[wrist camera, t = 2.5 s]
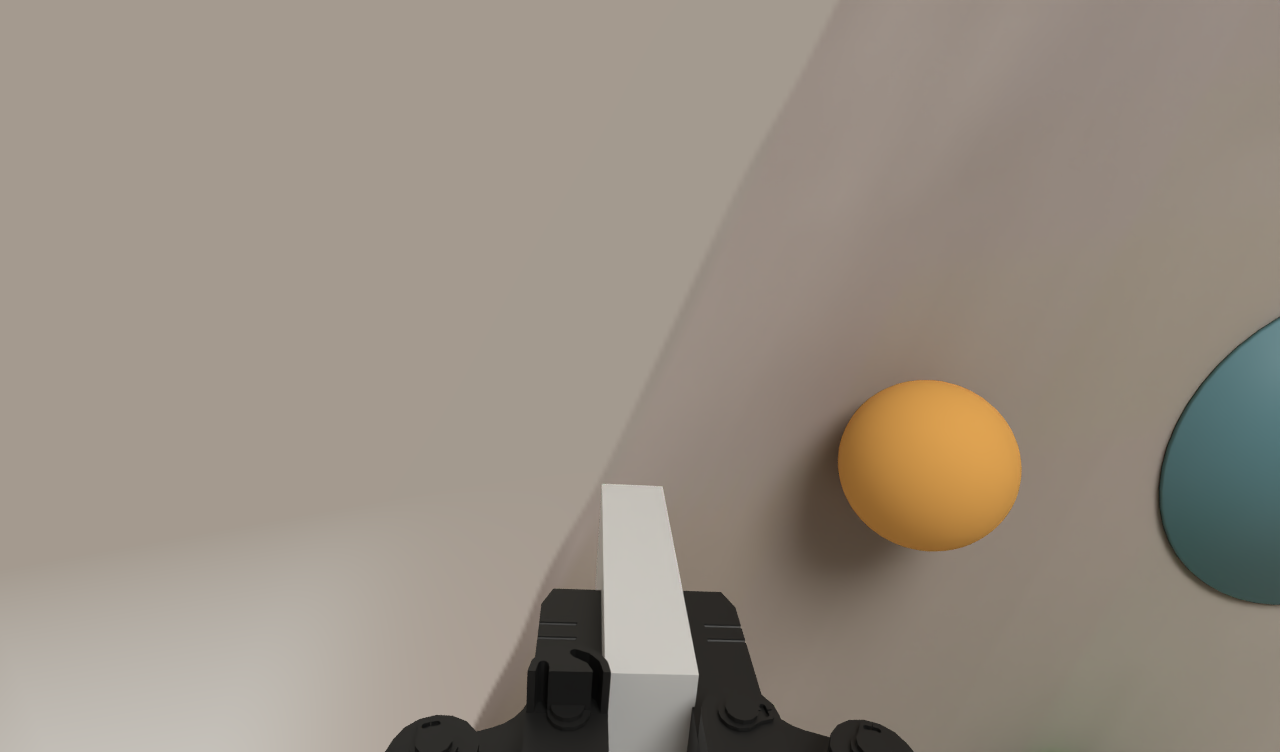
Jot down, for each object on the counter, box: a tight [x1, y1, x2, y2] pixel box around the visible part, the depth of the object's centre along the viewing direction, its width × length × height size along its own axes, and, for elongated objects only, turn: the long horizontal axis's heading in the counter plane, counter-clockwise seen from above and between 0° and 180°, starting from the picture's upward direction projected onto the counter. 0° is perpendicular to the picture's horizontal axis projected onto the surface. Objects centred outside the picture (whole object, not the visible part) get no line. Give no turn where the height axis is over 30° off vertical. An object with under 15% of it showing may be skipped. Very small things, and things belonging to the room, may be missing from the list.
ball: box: [838, 380, 1022, 551], centre depth 23 cm, size 6×6×6 cm
